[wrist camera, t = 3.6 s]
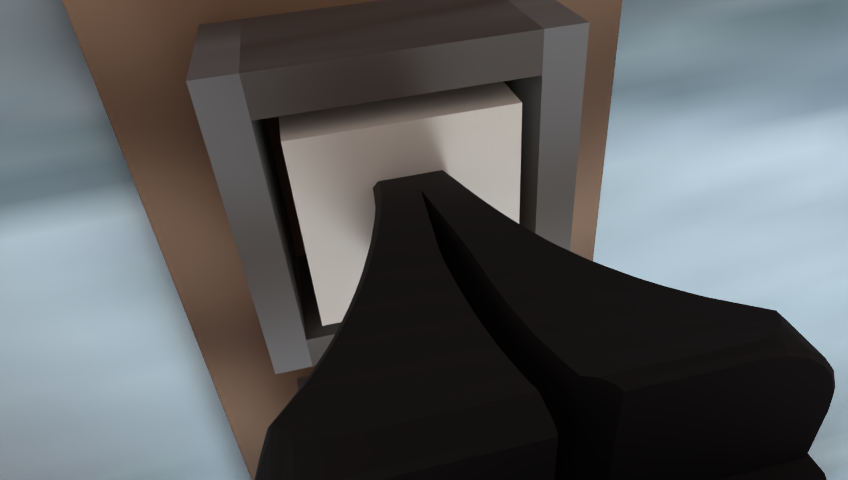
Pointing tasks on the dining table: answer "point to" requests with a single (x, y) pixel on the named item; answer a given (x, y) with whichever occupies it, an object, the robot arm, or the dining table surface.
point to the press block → (310, 91)
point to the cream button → (392, 169)
